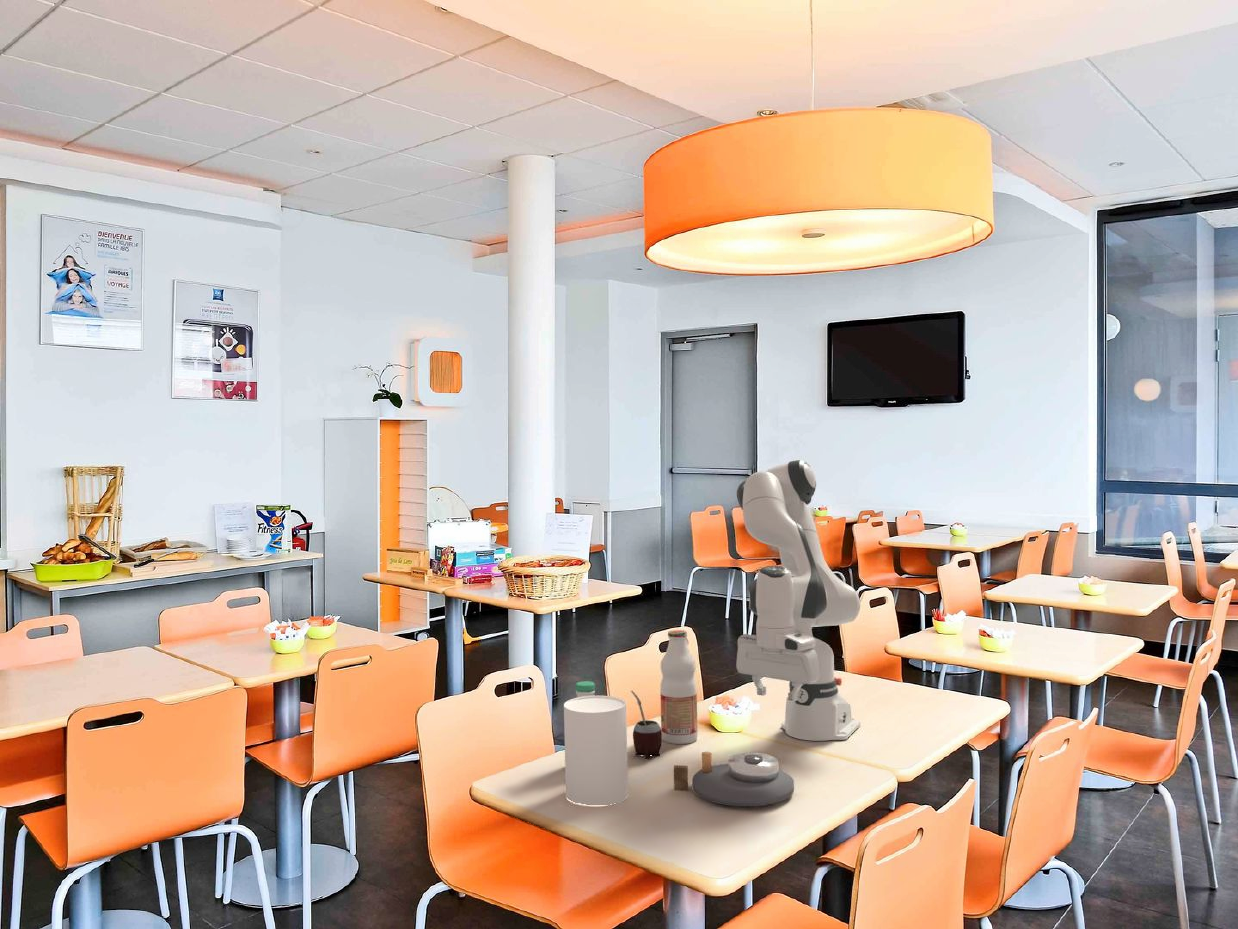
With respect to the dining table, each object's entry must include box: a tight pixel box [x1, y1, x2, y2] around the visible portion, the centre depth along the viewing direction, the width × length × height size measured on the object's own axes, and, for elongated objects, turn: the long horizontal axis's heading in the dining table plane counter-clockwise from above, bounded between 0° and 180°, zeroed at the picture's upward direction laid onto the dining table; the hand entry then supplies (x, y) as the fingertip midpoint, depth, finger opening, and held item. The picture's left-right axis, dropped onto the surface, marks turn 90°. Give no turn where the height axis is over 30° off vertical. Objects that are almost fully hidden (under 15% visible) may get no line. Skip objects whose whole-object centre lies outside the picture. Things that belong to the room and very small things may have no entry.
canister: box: [563, 695, 629, 806], centre depth 202 cm, size 14×14×20 cm
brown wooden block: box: [673, 764, 689, 792], centre depth 204 cm, size 3×2×5 cm, turn 81°
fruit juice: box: [659, 629, 699, 745], centre depth 239 cm, size 9×9×28 cm
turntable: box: [691, 751, 795, 807], centre depth 202 cm, size 22×22×6 cm
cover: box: [728, 752, 780, 783], centre depth 205 cm, size 11×11×4 cm
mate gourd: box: [630, 690, 663, 761], centre depth 227 cm, size 8×8×15 cm
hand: (777, 697), depth 213 cm, fingers open, 7 cm apart
